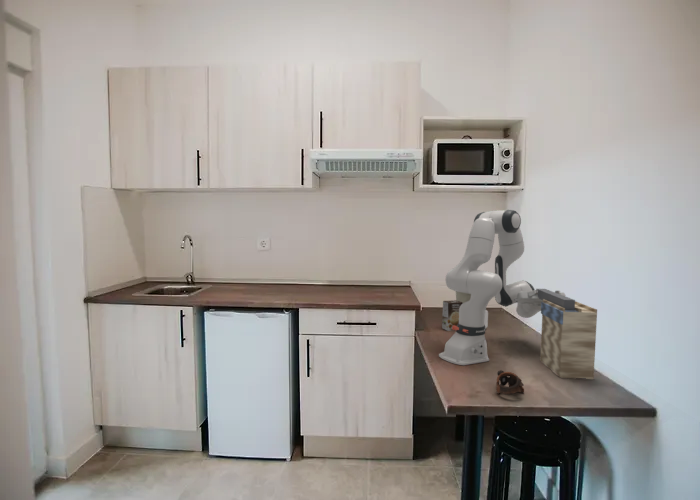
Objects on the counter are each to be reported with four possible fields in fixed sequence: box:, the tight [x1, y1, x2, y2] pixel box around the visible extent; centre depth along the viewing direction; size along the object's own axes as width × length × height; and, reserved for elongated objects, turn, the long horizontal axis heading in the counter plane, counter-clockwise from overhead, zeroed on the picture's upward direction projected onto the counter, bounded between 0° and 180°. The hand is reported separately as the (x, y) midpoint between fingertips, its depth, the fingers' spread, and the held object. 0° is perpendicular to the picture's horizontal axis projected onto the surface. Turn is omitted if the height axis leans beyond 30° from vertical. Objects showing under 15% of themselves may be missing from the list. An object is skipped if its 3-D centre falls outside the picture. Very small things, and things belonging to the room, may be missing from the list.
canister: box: [455, 291, 471, 303], centre depth 240 cm, size 18×18×21 cm
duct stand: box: [539, 299, 598, 380], centre depth 148 cm, size 18×13×27 cm
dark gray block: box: [535, 288, 576, 310], centre depth 153 cm, size 26×4×4 cm, turn 175°
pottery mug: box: [495, 369, 525, 395], centre depth 128 cm, size 12×10×8 cm
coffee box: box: [441, 299, 463, 332], centre depth 206 cm, size 9×6×16 cm
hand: (547, 291), depth 159 cm, fingers open, 8 cm apart
